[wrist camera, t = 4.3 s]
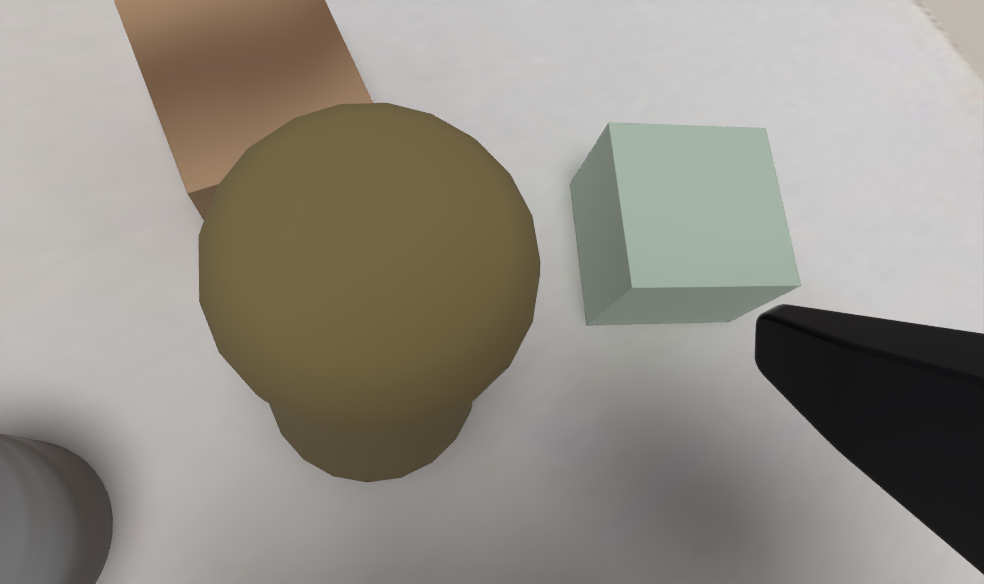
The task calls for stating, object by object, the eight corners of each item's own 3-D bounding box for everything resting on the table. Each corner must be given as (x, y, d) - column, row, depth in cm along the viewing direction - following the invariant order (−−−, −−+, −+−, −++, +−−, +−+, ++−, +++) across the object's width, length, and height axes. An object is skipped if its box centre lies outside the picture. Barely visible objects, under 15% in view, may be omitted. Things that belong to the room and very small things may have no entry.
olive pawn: (362, 240, 20) (351, -35, 10) (515, 359, 20) (671, 205, 9) (220, 391, 18) (13, 244, 8) (388, 527, 18) (411, 567, 7)
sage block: (701, 188, 23) (765, 128, 19) (726, 322, 22) (801, 285, 18) (568, 186, 22) (608, 122, 18) (585, 326, 21) (632, 287, 17)
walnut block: (383, 206, 21) (386, 131, 16) (227, 260, 19) (187, 193, 15) (315, 56, 22) (302, -49, 18) (165, 97, 20) (111, -7, 16)
